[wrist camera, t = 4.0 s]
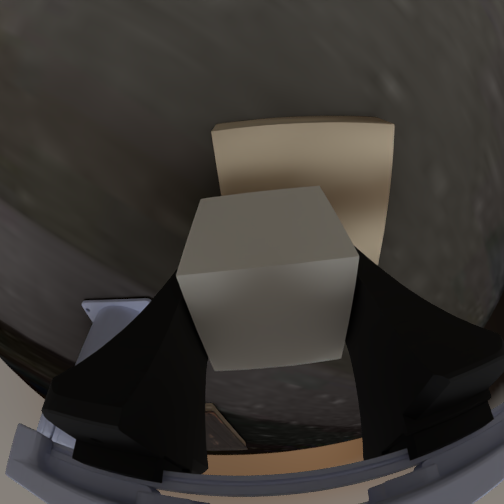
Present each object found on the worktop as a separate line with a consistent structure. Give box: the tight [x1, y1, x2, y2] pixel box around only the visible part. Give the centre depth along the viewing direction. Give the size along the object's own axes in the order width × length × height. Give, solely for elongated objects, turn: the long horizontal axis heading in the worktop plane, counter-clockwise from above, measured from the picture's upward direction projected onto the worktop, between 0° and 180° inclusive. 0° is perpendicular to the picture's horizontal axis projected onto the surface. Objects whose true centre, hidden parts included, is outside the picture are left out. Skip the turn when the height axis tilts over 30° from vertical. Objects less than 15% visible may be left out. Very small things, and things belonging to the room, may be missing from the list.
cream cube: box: [176, 186, 359, 371], centre depth 10 cm, size 5×5×5 cm
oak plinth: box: [211, 116, 394, 266], centre depth 17 cm, size 10×10×3 cm
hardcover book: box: [205, 403, 248, 450], centre depth 42 cm, size 16×23×2 cm
